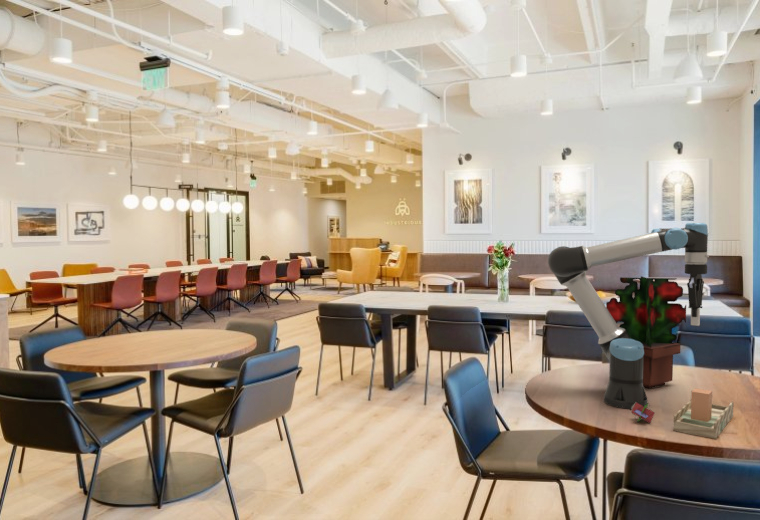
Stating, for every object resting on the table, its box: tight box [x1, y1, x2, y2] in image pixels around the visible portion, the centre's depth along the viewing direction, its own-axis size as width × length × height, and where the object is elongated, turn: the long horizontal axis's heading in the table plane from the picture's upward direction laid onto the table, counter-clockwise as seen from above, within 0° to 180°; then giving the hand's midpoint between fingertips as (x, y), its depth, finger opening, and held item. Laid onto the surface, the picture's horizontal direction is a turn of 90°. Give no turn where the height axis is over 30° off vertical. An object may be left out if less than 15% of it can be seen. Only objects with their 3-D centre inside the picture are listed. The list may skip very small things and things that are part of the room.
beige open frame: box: [672, 399, 734, 440], centre depth 195 cm, size 30×12×5 cm, turn 140°
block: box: [690, 388, 713, 422], centre depth 191 cm, size 5×5×9 cm
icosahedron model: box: [630, 402, 655, 424], centre depth 196 cm, size 7×7×8 cm
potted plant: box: [605, 276, 687, 390], centre depth 245 cm, size 22×22×45 cm
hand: (695, 325), depth 222 cm, fingers closed
